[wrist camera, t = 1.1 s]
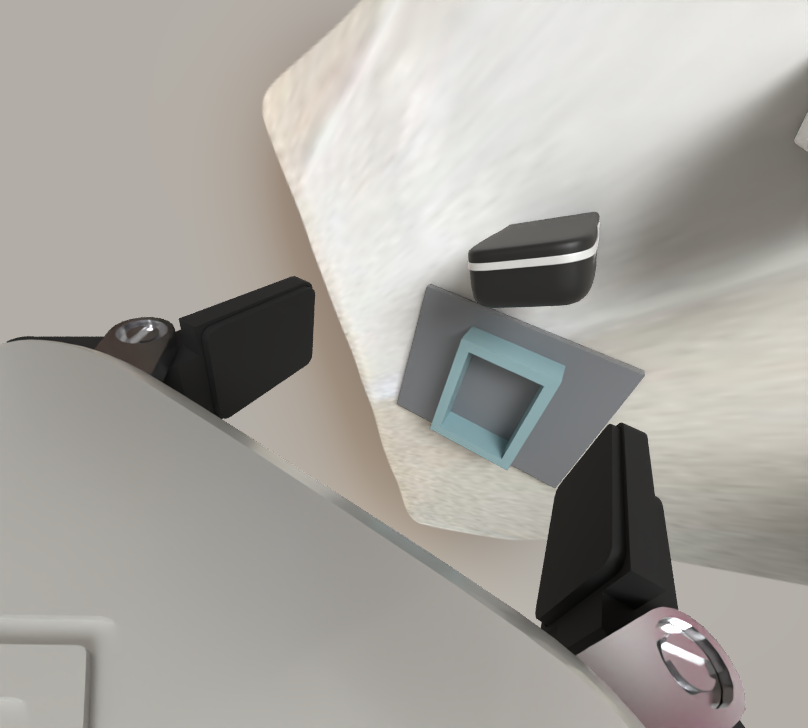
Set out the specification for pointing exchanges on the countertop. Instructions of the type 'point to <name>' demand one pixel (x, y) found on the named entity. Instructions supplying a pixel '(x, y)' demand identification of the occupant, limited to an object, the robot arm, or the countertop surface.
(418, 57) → the countertop surface
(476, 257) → the black hard case
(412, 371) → the charging dock
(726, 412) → the countertop surface
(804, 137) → the jar
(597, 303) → the countertop surface
